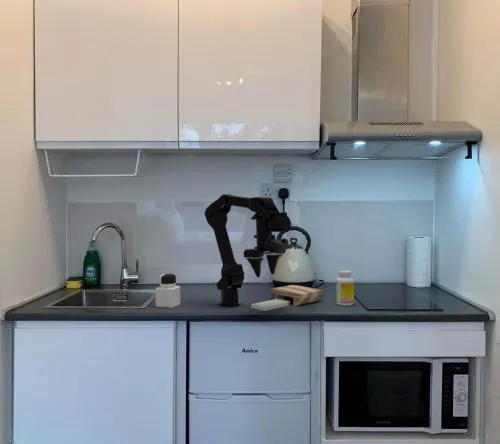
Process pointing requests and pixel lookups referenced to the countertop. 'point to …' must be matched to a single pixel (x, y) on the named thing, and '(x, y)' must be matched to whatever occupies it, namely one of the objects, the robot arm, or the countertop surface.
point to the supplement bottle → (345, 289)
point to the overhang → (297, 294)
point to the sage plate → (270, 304)
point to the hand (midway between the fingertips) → (265, 275)
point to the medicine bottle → (167, 292)
